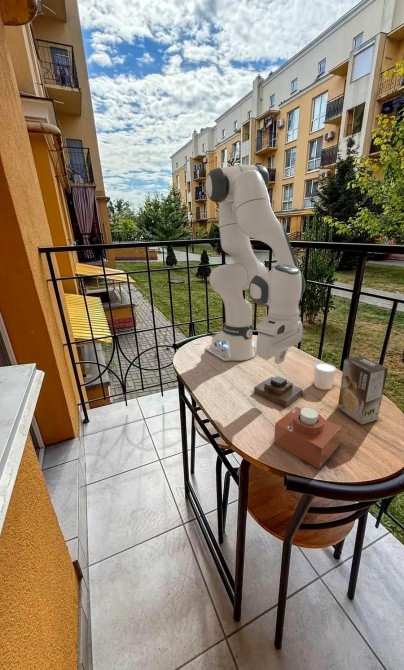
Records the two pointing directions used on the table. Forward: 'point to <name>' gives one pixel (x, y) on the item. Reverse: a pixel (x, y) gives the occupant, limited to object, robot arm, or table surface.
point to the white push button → (308, 416)
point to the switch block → (278, 392)
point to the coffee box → (362, 389)
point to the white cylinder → (324, 375)
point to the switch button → (278, 381)
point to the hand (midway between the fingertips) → (279, 362)
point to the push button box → (307, 437)
